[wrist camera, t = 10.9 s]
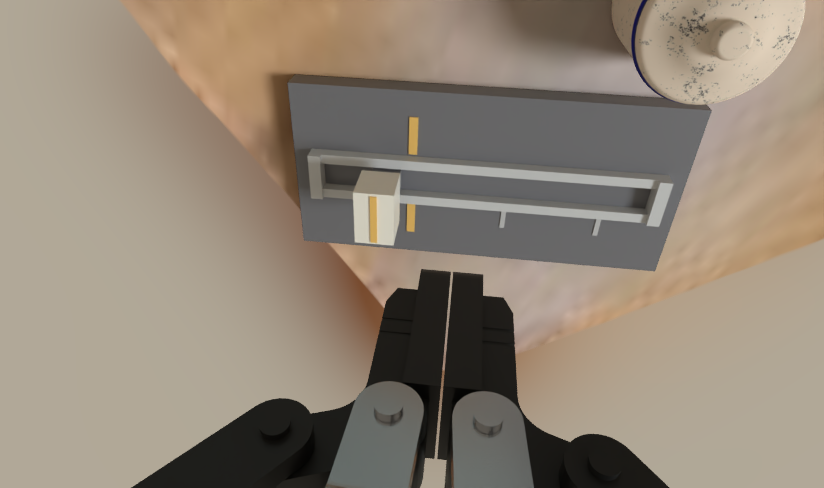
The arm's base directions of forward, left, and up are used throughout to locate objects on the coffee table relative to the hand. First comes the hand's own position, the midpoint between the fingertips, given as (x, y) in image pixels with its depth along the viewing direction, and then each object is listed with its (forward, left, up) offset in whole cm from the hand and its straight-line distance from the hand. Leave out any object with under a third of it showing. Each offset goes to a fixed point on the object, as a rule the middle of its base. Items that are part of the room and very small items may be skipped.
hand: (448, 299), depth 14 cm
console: (+14, +2, -33) cm, 36 cm away
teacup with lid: (-2, +15, -33) cm, 36 cm away
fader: (+13, -6, -31) cm, 34 cm away
